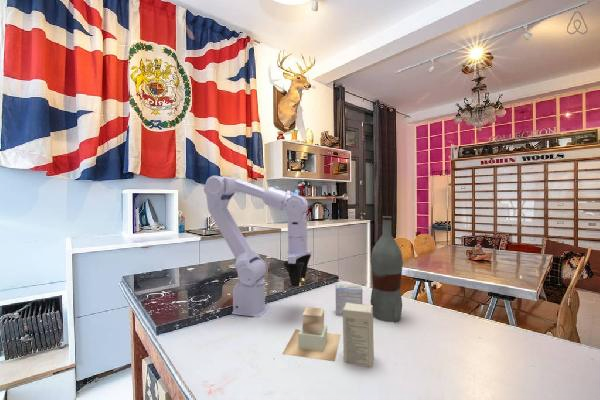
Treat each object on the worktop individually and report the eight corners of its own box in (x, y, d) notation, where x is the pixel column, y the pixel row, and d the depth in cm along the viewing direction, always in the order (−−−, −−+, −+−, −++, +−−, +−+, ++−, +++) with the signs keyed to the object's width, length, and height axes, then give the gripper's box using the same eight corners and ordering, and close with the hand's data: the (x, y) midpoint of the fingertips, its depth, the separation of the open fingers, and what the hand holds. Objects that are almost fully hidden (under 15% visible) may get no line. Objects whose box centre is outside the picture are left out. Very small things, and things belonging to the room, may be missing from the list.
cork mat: (282, 355, 67) (282, 353, 67) (295, 330, 78) (295, 329, 78) (334, 363, 64) (334, 361, 64) (340, 336, 75) (340, 334, 75)
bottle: (367, 309, 92) (368, 215, 91) (396, 310, 91) (397, 215, 90) (373, 323, 82) (374, 218, 81) (406, 323, 82) (408, 218, 81)
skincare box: (374, 358, 65) (374, 304, 65) (372, 369, 61) (372, 312, 61) (345, 353, 68) (345, 301, 67) (342, 363, 63) (342, 308, 63)
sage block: (298, 348, 69) (298, 333, 69) (304, 336, 75) (304, 322, 74) (323, 351, 67) (323, 337, 67) (327, 338, 73) (327, 325, 73)
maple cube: (302, 333, 69) (302, 314, 69) (306, 324, 73) (306, 306, 73) (321, 335, 68) (321, 316, 68) (324, 326, 72) (324, 308, 72)
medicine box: (360, 311, 90) (361, 284, 90) (362, 318, 86) (362, 289, 86) (335, 310, 91) (335, 283, 91) (335, 316, 87) (335, 288, 86)
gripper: (305, 240, 78) (306, 290, 79) (315, 233, 93) (316, 275, 93) (280, 240, 80) (281, 289, 81) (294, 232, 94) (295, 274, 95)
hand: (298, 281), depth 87 cm, fingers open, 7 cm apart
